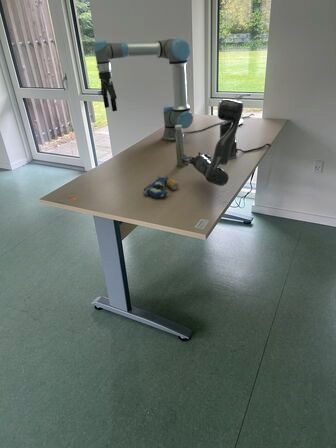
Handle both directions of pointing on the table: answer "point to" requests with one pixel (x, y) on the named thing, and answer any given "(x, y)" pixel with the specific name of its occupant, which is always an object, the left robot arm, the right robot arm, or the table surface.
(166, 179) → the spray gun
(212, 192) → the table surface
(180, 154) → the bottle
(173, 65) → the left robot arm
